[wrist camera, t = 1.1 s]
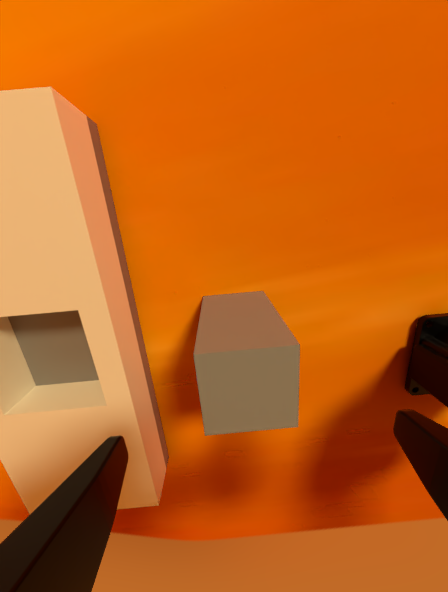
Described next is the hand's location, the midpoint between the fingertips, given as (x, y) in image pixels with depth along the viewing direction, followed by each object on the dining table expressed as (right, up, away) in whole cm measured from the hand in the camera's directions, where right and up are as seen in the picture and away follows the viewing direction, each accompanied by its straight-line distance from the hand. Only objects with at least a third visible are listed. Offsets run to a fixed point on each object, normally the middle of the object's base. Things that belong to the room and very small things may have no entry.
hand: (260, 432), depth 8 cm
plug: (0, +3, +8) cm, 9 cm away
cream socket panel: (-11, +2, +8) cm, 14 cm away
